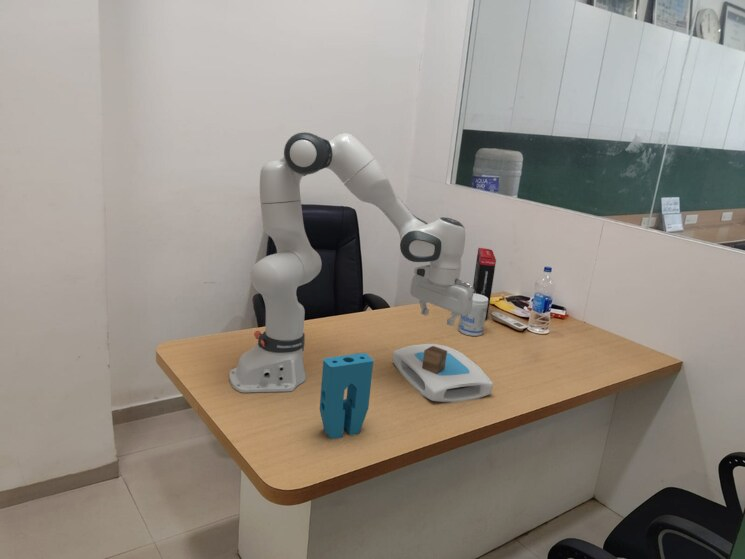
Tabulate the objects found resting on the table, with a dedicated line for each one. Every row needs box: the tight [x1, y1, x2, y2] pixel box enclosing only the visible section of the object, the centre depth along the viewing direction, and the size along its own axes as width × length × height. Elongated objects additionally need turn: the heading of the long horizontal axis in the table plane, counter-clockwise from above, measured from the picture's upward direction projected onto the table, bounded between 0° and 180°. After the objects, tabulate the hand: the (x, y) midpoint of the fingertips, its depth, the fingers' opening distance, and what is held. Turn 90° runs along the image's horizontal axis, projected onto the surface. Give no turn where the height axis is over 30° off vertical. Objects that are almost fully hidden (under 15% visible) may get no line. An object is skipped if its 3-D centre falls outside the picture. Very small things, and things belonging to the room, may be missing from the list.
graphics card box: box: [472, 247, 497, 321], centre depth 232 cm, size 17×7×27 cm, turn 174°
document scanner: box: [392, 343, 494, 404], centre depth 172 cm, size 21×28×6 cm
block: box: [319, 352, 374, 440], centre depth 136 cm, size 12×5×20 cm, turn 119°
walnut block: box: [422, 346, 447, 374], centre depth 165 cm, size 5×5×6 cm
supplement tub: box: [458, 293, 488, 337], centre depth 212 cm, size 10×10×15 cm
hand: (437, 319), depth 160 cm, fingers open, 8 cm apart
